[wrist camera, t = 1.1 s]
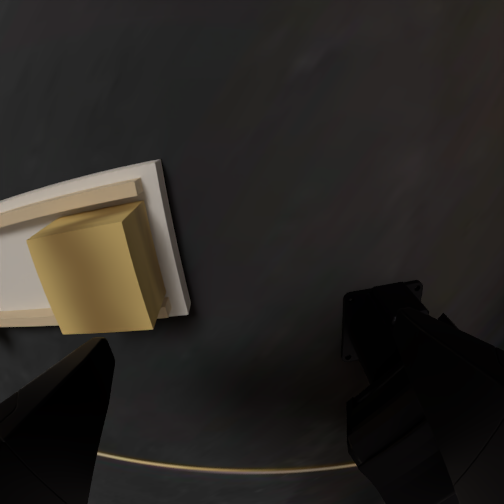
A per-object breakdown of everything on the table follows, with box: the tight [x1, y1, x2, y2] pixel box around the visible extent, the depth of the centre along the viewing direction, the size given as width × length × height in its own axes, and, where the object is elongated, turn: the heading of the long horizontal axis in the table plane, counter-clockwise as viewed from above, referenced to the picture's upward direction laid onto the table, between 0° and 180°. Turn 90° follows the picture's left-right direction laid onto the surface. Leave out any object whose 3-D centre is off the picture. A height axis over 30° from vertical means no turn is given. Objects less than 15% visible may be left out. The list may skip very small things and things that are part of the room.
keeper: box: [26, 200, 166, 334], centre depth 17 cm, size 6×6×4 cm
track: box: [0, 159, 191, 327], centre depth 18 cm, size 22×10×6 cm, turn 97°
